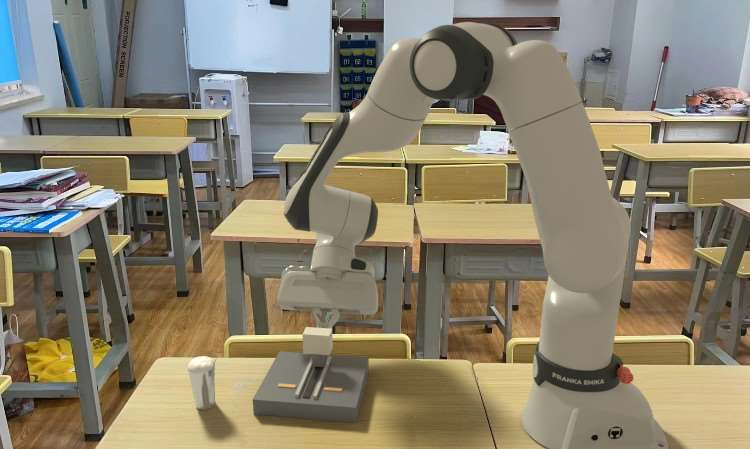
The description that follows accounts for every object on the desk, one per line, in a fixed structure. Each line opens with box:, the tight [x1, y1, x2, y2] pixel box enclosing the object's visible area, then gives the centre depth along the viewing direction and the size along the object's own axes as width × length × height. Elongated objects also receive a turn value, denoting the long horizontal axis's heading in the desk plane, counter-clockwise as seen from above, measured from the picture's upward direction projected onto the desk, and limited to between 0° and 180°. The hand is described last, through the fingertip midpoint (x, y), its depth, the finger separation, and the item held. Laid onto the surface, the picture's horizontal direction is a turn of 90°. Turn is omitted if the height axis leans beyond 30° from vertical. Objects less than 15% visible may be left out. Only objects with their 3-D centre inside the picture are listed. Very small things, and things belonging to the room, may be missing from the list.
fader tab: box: [302, 326, 334, 367], centre depth 102 cm, size 5×3×7 cm, turn 83°
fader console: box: [252, 351, 370, 424], centre depth 101 cm, size 18×16×4 cm
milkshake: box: [187, 356, 218, 411], centre depth 95 cm, size 5×5×10 cm
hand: (323, 332), depth 106 cm, fingers closed
